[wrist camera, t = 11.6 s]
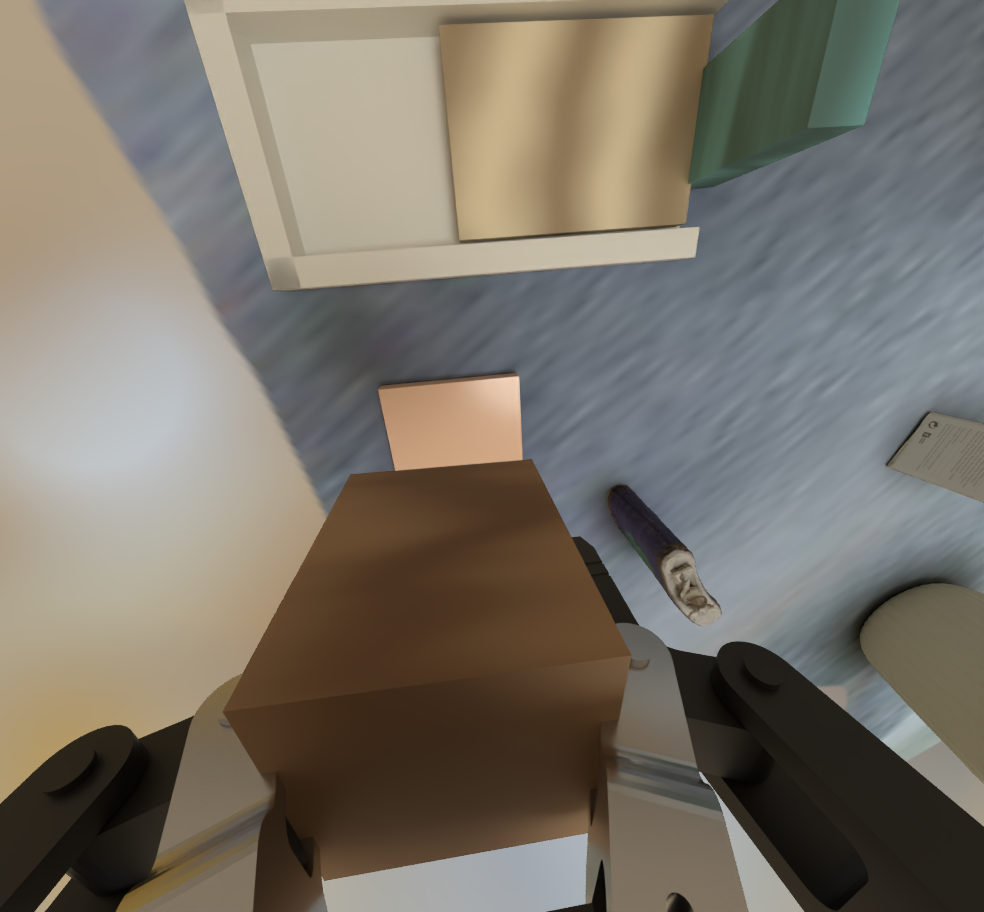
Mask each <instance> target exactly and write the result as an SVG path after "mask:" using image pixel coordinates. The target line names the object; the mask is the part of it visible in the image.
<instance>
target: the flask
mask: <svg viewBox="0 0 984 912" xmlns="http://www.w3.org/2000/svg"><path fill="white" fill-rule="evenodd" d="M607 500H608V507H609V509H610V511H611V515H612V516H613V518H614V520H615V523H617V525H618V527H619V529H620V530H621V531H622V532H623V533H624V534H625V536H626V537H627V539H628V540H629V541H630V543H631V544H632V546H633V547H634V549H635V550H636V551H637V553H638V554H639V555H640V557H641V558H642V559H643V561H644V562H645V564H646V565H647V566H648V568H649V569H650V570H651V572H652V573H653V574H654V576H655V577H656V579H657V580H658V581H659V583H660V584H661V585H662V587H663V588H664V590H665V591H666V593H667V594H668V596H669V597H670V599H671V600H672V601H673V603H674V604H675V605H676V606H677V607H678V609H679V610H680V611H681V612H682V613H683V614H684V615H685V616H686V617H687V618H688V619H689V620H691V621H692V622H693V623H695V624H697V625H699V626H706V625H710V624H711V623H713V622H714V621H716V620H717V619H718V618H719V616H721V615H722V611H721V608H720V605H719V604H718V603H717V601H716V600H715V599H714V598H713V597H712V596H711V595H710V594H709V593H708V592H707V590H706V589H705V588H704V586H703V584H702V583H701V581H700V579H699V577H698V574H697V571H696V566H695V562H696V561H695V559H694V556H693V554H692V552H691V551H689V550H688V549H687V547H686V546H685V545H684V544H683V543H682V542H680V540H679V539H678V538H677V537H676V536H675V535H674V534H673V533H672V532H671V531H670V530H669V529H668V528H667V527H666V526H665V525H664V523H663V522H662V521H661V520H660V519H659V518H658V516H657V515H656V514H655V513H654V512H653V511H652V510H651V509H650V508H648V507H647V506H646V505H645V503H644V502H643V501H642V500H641V499H640V498H639V497H638V496H637V495H636V494H635V492H634V491H632V490H631V488H630V487H629V486H625V485H622V484H619V485H618V486H616V487H614V488H612V489H611V490H610V491H609V492H608V496H607Z"/></svg>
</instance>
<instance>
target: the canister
mask: <svg viewBox="0 0 984 912" xmlns="http://www.w3.org/2000/svg"><path fill="white" fill-rule="evenodd" d="M860 644H861V648H862V650H863V652H864V654H865V656H866V658H867V659H868V661H869V662H870V663H871V665H872V666H873V667H874V668H875V670H876V671H877V672H878V673H879V674H880V675H881V676H882V677H883V678H884V680H885V681H886V682H887V683H888V684H889V685H890V686H891V687H892V688H893V689H894V690H895V691H896V693H897V694H898V695H899V696H900V697H901V698H902V699H903V700H904V701H905V702H906V703H907V704H908V706H909V707H910V708H911V709H912V710H913V711H914V712H915V713H916V714H917V715H918V716H919V717H920V718H921V719H922V720H923V721H924V722H925V723H926V725H927V726H928V727H929V728H930V729H931V730H932V731H933V732H934V733H935V734H936V735H937V736H938V737H939V738H940V739H941V740H942V741H943V742H944V743H945V744H946V745H947V746H948V747H949V748H950V750H952V752H953V753H954V754H955V755H956V756H957V757H958V758H959V759H960V760H961V761H962V762H963V763H964V764H965V765H966V766H967V767H968V768H969V769H970V771H971V772H972V773H973V774H974V775H975V776H976V777H977V778H978V779H979V780H980V781H981V782H982V783H983V784H984V594H982V593H980V592H977V591H974V590H971V589H969V588H965V587H962V586H958V585H952V584H945V583H937V584H935V583H933V584H928V585H921V586H919V587H914V588H912V589H908V590H906V591H904V592H903V593H899V594H898V595H896V596H894V597H892V598H891V599H890V600H888V601H886V602H884V604H882V605H881V606H879V607H878V609H877V610H875V611H874V612H873V613H872V615H871V616H869V617H868V620H867V621H866V622H865V623H864V626H863V627H862V631H861V633H860Z"/></svg>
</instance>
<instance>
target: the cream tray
mask: <svg viewBox="0 0 984 912" xmlns="http://www.w3.org/2000/svg"><path fill="white" fill-rule="evenodd" d="M728 1H729V0H184V3H185V6H186V9H187V12H188V16H189V19H190V22H191V25H192V29H193V32H194V35H195V38H196V42H197V45H198V48H199V51H200V55H201V58H202V61H203V64H204V68H205V71H206V74H207V77H208V81H209V84H210V87H211V90H212V94H213V97H214V100H215V103H216V107H217V110H218V113H219V116H220V120H221V123H222V126H223V129H224V133H225V136H226V139H227V142H228V146H229V149H230V152H231V155H232V159H233V162H234V165H235V168H236V172H237V175H238V178H239V182H240V185H241V188H242V191H243V195H244V198H245V201H246V204H247V208H248V211H249V214H250V217H251V221H252V224H253V227H254V230H255V234H256V237H257V240H258V243H259V247H260V250H261V253H262V256H263V260H264V263H265V266H266V269H267V273H268V276H269V279H270V282H271V286H272V289H273V290H274V291H294V290H306V289H319V288H331V287H344V286H357V285H369V284H382V283H395V282H407V281H420V280H432V279H445V278H458V277H470V276H483V275H496V274H508V273H521V272H533V271H546V270H559V269H571V268H584V267H597V266H609V265H622V264H634V263H647V262H660V261H672V260H679V259H686V258H693V257H695V254H696V247H697V241H698V234H699V227H692V228H679V226H676V227H668V228H654V229H641V230H627V231H613V232H600V233H586V234H573V235H559V236H545V237H532V238H518V239H505V240H491V241H477V242H464V243H459V234H458V224H457V213H456V203H455V193H454V183H453V172H452V162H451V152H450V142H449V131H448V121H447V111H446V101H445V90H444V80H443V70H442V60H441V49H440V38H439V25H449V24H475V23H501V22H528V21H554V20H580V19H607V18H633V17H659V16H685V15H712V14H714V16H715V15H716V14H717V13H718V12H719V11H720V10H721V9H722V8H723V7H724V6H725V5H726V3H727V2H728Z"/></svg>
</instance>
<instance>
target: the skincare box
mask: <svg viewBox="0 0 984 912" xmlns="http://www.w3.org/2000/svg"><path fill="white" fill-rule="evenodd" d="M888 466H889V468H891V469H894V470H897V471H899V472H902V473H905V474H908V475H910V476H913V477H916V478H918V479H921V480H924V481H927V482H929V483H932V484H935V485H937V486H940V487H943V488H946V489H948V490H951V491H954V492H956V493H959V494H962V495H964V496H967V497H970V498H972V499H975V500H978V501H980V502H983V503H984V424H983V423H979V422H974V421H969V420H965V419H961V418H956V417H952V416H947V415H943V414H939V413H934V412H931V413H929V414H928V415H927V416H926V417H925V419H924V420H923V421H922V423H921V424H920V426H919V427H918V429H917V430H916V431H915V433H914V434H913V435H912V436H911V437H910V438H909V440H908V441H907V442H906V443H905V444H904V445H903V446H902V448H901V449H900V450H899V451H898V452H897V454H896V455H895V456H894V458H893V459H892V460H891V461H890V463H889V464H888Z"/></svg>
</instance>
